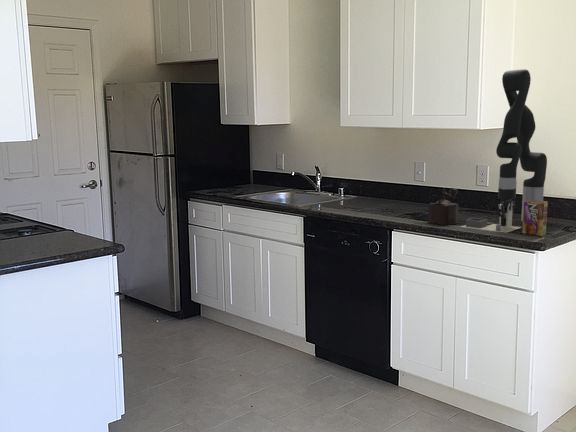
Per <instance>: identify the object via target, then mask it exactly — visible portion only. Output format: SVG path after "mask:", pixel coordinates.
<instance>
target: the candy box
mask: <svg viewBox="0 0 576 432" xmlns="http://www.w3.org/2000/svg"><path fill="white" fill-rule="evenodd" d="M548 203H549V202H548V201H545V200H543V201H536V200H525V201H524V211H523V222H522V234H525V235H526V234H527V235H532V236H539V237H540V236H541V237H540V238H541V239H542V238H545V237H546V236H547V219H548V206H549V205H548Z"/></svg>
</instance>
